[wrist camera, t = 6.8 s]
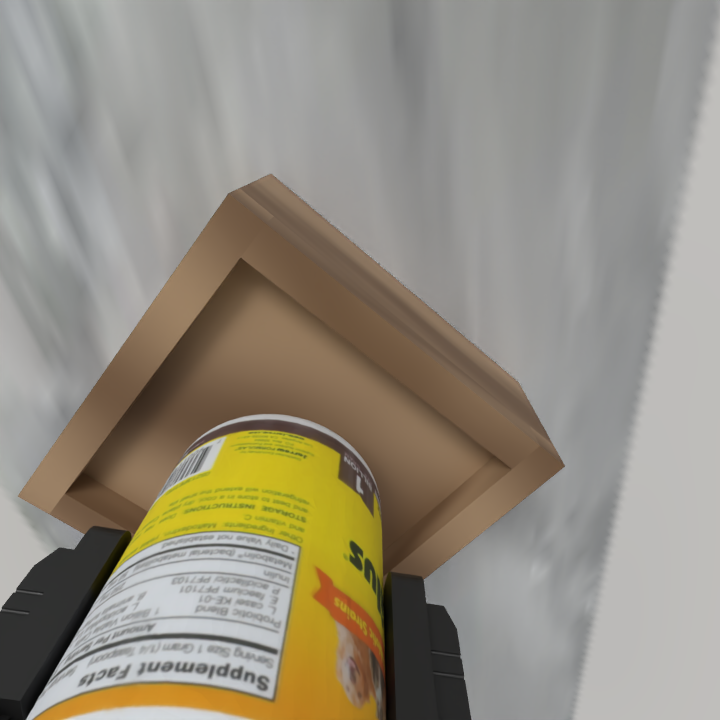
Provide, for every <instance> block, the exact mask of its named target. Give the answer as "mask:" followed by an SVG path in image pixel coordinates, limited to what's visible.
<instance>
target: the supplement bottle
mask: <svg viewBox="0 0 720 720" xmlns="http://www.w3.org/2000/svg"><path fill="white" fill-rule="evenodd" d="M383 597H384V596H383V557H382V519H381V505H380V497H379V492H378V488H377V485H376V482H375V479H374V477H373V475H372V473H371V471H370V469H369V467H368V466H367V464H366V462H365V461H364V460H363V458H362V457H361V456H360V454H359V453H358V452H357V451H356V450H355V449H354V448H353V447H352V446H351V445H350V444H349V443H348V442H347V441H345V440H344V439H343V438H342V437H340V436H339V435H337V434H336V433H334V432H333V431H331V430H329V429H327V428H326V427H324V426H321V425H319V424H317V423H314V422H311V421H309V420H305V419H302V418H298V417H293V416H288V415H280V414H258V415H251V416H244V417H240V418H237V419H233V420H230V421H227V422H225V423H223V424H220V425H218V426H216V427H215V428H213V429H211V430H209V431H208V432H206V433H205V434H203V435H202V436H201V437H200V438H198V439H197V440H196V441H195V442H194V443H193V444H192V445H191V446H190V447H189V448H188V449H187V450H186V452H185V453H184V454H183V456H182V457H181V459H180V460H179V462H178V463H177V465H176V466H175V468H174V469H173V471H172V473H171V475H170V477H169V478H168V480H167V481H166V483H165V485H164V486H163V488H162V489H161V491H160V492H159V494H158V496H157V498H156V500H155V501H154V503H153V505H152V506H151V508H150V510H149V511H148V513H147V515H146V517H145V518H144V520H143V521H142V523H141V525H140V526H139V528H138V530H137V531H136V533H135V535H134V537H133V538H132V540H131V542H130V543H129V545H128V547H127V548H126V550H125V552H124V554H123V556H122V557H121V559H120V561H119V562H118V564H117V565H116V567H115V569H114V570H113V572H112V574H111V576H110V577H109V579H108V581H107V582H106V584H105V586H104V588H103V589H102V591H101V593H100V595H99V596H98V598H97V599H96V601H95V603H94V604H93V606H92V608H91V610H90V611H89V613H88V615H87V617H86V618H85V620H84V622H83V624H82V625H81V627H80V629H79V630H78V632H77V634H76V635H75V637H74V639H73V640H72V642H71V644H70V646H69V647H68V649H67V651H66V652H65V654H64V656H63V657H62V659H61V661H60V662H59V664H58V666H57V668H56V669H55V671H54V673H53V674H52V676H51V678H50V679H49V681H48V683H47V684H46V686H45V688H44V690H43V692H42V693H41V695H40V696H39V698H38V700H37V701H36V703H35V705H34V707H33V709H32V710H31V712H30V714H29V715H28V717H27V719H26V720H386V683H385V639H384V607H383Z"/></svg>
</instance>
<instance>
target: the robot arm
mask: <svg viewBox="0 0 720 720" xmlns="http://www.w3.org/2000/svg"><path fill="white" fill-rule="evenodd" d="M131 540H132V536H131V532H130V531H127V530H120V529H113V528H107V527H100V526H92V527H91V528H90V529H89V530H88V531H87V532H86V534H85V535H84V537H83V538H82V539H81V541H80V542H79V544H78V545H77V547H76V548H75V549H74V550H72V549H66V548H58V549H57V550H55V551H54V552H53V553H51V554H50V555H48V556H47V557H46V558H44V559H43V560H41V561H40V562H39V563H37V564H36V565H34V567H33V568H32V569H31V570H30V572H29V573H28V574H27V576H26V577H25V578H24V579H23V581H22V582H21V583H20V585H19V586H18V587H17V590H16V592H15V593H13V594H12V595H11V596H10V598H9V599H8V600H7V601H6V603H5V604H4V605H3V607H2V610H1V612H0V720H26V719H27V717H28V715H29V714H30V712H31V710H32V709H33V707H34V705H35V703H36V701H37V700H38V698H39V696H40V695H41V693H42V692H43V690H44V688H45V686H46V684H47V683H48V681H49V679H50V678H51V676H52V674H53V673H54V671H55V669H56V668H57V666H58V664H59V662H60V661H61V659H62V657H63V656H64V654H65V652H66V651H67V649H68V647H69V646H70V644H71V642H72V640H73V639H74V637H75V635H76V634H77V632H78V630H79V629H80V627H81V625H82V624H83V622H84V620H85V618H86V617H87V615H88V613H89V611H90V610H91V608H92V606H93V604H94V603H95V601H96V599H97V598H98V596H99V595H100V593H101V591H102V589H103V588H104V586H105V584H106V582H107V581H108V579H109V577H110V576H111V574H112V572H113V570H114V569H115V567H116V565H117V564H118V562H119V561H120V559H121V557H122V556H123V554H124V552H125V550H126V548H127V547H128V545H129V543H130V542H131ZM383 596H384V597H383V607H384V639H385V683H386V720H471V715H470V709H469V703H468V696H467V690H466V684H465V680H464V671H463V665H462V659H460V655H461V653H460V647H459V640H458V634H457V629H456V627H455V625H454V623H453V621H452V620H451V618H450V616H449V614H448V613H447V611H446V609H445V607H444V606H440V605H434V604H427V603H426V598H425V589H424V581H423V578H422V576H417V575H410V574H404V573H397V572H390V571H389V572H388V574H387V577H386V581H385V585H384V588H383Z"/></svg>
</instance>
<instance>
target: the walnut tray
mask: <svg viewBox="0 0 720 720" xmlns="http://www.w3.org/2000/svg"><path fill="white" fill-rule="evenodd" d="M258 414H280V415H288V416H293V417H298V418H302V419H305V420H309V421H311V422H314V423H317V424H319V425H321V426H324V427H326V428H327V429H329V430H331V431H333V432H334V433H336V434H337V435H339V436H340V437H342V438H343V439H344V440H345V441H347V442H348V443H349V444H350V445H351V446H352V447H353V448H354V449H355V450H356V451H357V452H358V453H359V454H360V456H361V457H362V458H363V460H364V461H365V462H366V464H367V466H368V467H369V469H370V471H371V473H372V475H373V477H374V479H375V482H376V485H377V488H378V492H379V497H380V505H381V519H382V557H383V588H384V585H385V581H386V577H387V574H388V572H389V571H390V572H397V573H404V574H410V575H417V576H422V578H423V580H424V579H425V578H426V577H427V576H429V575H430V574H431V573H432V572H434V571H435V570H436V569H437V568H439V567H440V566H441V565H442V564H444V563H445V562H446V561H447V560H449V559H450V558H451V557H452V556H454V555H455V554H456V553H457V552H459V551H460V550H461V549H462V548H464V547H465V546H466V545H467V544H469V543H470V542H471V541H472V540H474V539H475V538H476V537H477V536H479V535H480V534H481V533H482V532H484V531H485V530H486V529H487V528H489V527H490V526H491V525H492V524H494V523H495V522H496V521H497V520H499V519H500V518H501V517H502V516H504V515H505V514H506V513H507V512H509V511H510V510H511V509H512V508H514V507H515V506H516V505H517V504H519V503H520V502H521V501H522V500H524V499H525V498H526V497H527V496H529V495H530V494H531V493H532V492H534V491H535V490H536V489H537V488H539V487H540V486H541V485H542V484H544V483H545V482H546V481H547V480H549V479H550V478H551V477H552V476H554V475H555V474H556V473H557V472H559V471H560V470H561V469H562V468H564V467H565V465H564V464H563V462H562V460H561V458H560V456H559V455H558V453H557V451H556V449H555V447H554V446H553V444H552V442H551V440H550V438H549V437H548V435H547V433H546V431H545V429H544V427H543V426H542V424H541V422H540V420H539V418H538V417H537V415H536V413H535V411H534V409H533V408H532V406H531V404H530V402H529V400H528V399H527V397H526V395H525V393H524V391H523V390H522V388H521V386H520V384H519V382H517V381H516V380H515V379H514V378H513V377H511V376H510V375H509V374H508V373H507V372H506V371H504V370H503V369H502V368H501V367H500V366H498V365H497V364H496V363H495V362H494V361H492V360H491V359H490V358H489V357H488V356H487V355H485V354H484V353H483V352H482V351H481V350H479V349H478V348H477V347H476V346H475V345H474V344H472V343H471V342H470V341H469V340H468V339H466V338H465V337H464V336H463V335H462V334H460V333H459V332H458V331H457V330H456V329H455V328H453V327H452V326H451V325H450V324H449V323H447V322H446V321H445V320H444V319H443V318H442V317H440V316H439V315H438V314H437V313H436V312H434V311H433V310H432V309H431V308H430V307H428V306H427V305H426V304H425V303H424V302H423V301H421V300H420V299H419V298H418V297H417V296H415V295H414V294H413V293H412V292H411V291H409V290H408V289H407V288H406V287H405V286H404V285H402V284H401V283H400V282H399V281H398V280H396V279H395V278H394V277H393V276H392V275H391V274H389V273H388V272H387V271H386V270H385V269H383V268H382V267H381V266H380V265H379V264H377V263H376V262H375V261H374V260H373V259H372V258H370V257H369V256H368V255H367V254H366V253H364V252H363V251H362V250H361V249H360V248H359V247H357V246H356V245H355V244H354V243H353V242H351V241H350V240H349V239H348V238H347V237H345V236H344V235H343V234H342V233H341V232H340V231H338V230H337V229H336V228H335V227H334V226H332V225H331V224H330V223H329V222H328V221H327V220H325V219H324V218H323V217H322V216H321V215H319V214H318V213H317V212H316V211H315V210H313V209H312V208H311V207H310V206H309V205H308V204H306V203H305V202H304V201H303V200H302V199H300V198H299V197H298V196H297V195H296V194H294V193H293V192H292V191H291V190H290V189H289V188H287V187H286V186H285V185H284V184H283V183H281V182H280V181H279V180H278V179H277V178H276V177H274V176H273V175H272V174H269V175H267V176H265V177H263V178H261V179H259V180H256V181H254V182H252V183H250V184H248V185H246V186H244V187H241V188H239V189H237V190H235V191H233V192H231V193H229V194H228V195H227V197H226V198H225V199H224V201H223V202H222V204H221V205H220V207H219V208H218V209H217V211H216V212H215V214H214V215H213V217H212V218H211V219H210V221H209V222H208V224H207V225H206V227H205V228H204V230H203V231H202V232H201V234H200V235H199V237H198V238H197V240H196V241H195V242H194V244H193V245H192V247H191V248H190V250H189V251H188V253H187V254H186V255H185V257H184V258H183V260H182V261H181V263H180V264H179V265H178V267H177V268H176V270H175V271H174V273H173V274H172V275H171V277H170V278H169V280H168V281H167V283H166V284H165V286H164V287H163V288H162V290H161V291H160V293H159V294H158V296H157V297H156V298H155V300H154V301H153V303H152V304H151V306H150V307H149V308H148V310H147V311H146V313H145V314H144V316H143V317H142V319H141V320H140V321H139V323H138V324H137V326H136V327H135V329H134V330H133V331H132V333H131V334H130V336H129V337H128V339H127V340H126V341H125V343H124V344H123V346H122V347H121V349H120V350H119V352H118V353H117V354H116V356H115V357H114V359H113V360H112V362H111V363H110V364H109V366H108V367H107V369H106V370H105V372H104V373H103V375H102V376H101V377H100V379H99V380H98V382H97V383H96V385H95V386H94V387H93V389H92V390H91V392H90V393H89V395H88V396H87V397H86V399H85V400H84V402H83V403H82V405H81V406H80V408H79V409H78V410H77V412H76V413H75V415H74V416H73V418H72V419H71V420H70V422H69V423H68V425H67V426H66V428H65V429H64V430H63V432H62V433H61V435H60V436H59V438H58V439H57V441H56V442H55V443H54V445H53V446H52V448H51V449H50V451H49V452H48V453H47V455H46V456H45V458H44V459H43V461H42V462H41V463H40V465H39V466H38V468H37V469H36V471H35V472H34V474H33V475H32V476H31V478H30V479H29V481H28V482H27V484H26V485H25V486H24V488H23V489H22V491H21V492H20V494H19V495H18V497H20V498H22V499H23V500H25V501H27V502H29V503H31V504H32V505H34V506H36V507H38V508H39V509H41V510H43V511H45V512H46V513H48V514H50V515H52V516H53V517H55V518H57V519H59V520H61V521H62V522H64V523H66V524H68V525H69V526H71V527H73V528H75V529H76V530H78V531H80V532H82V533H83V534H86V532H87V531H88V530H89V529H90V528H91V527H92V526H100V527H107V528H113V529H120V530H127V531H130V532H131V536H132V538H133V537H134V535H135V533H136V531H137V530H138V528H139V526H140V525H141V523H142V521H143V520H144V518H145V517H146V515H147V513H148V511H149V510H150V508H151V506H152V505H153V503H154V501H155V500H156V498H157V496H158V494H159V492H160V491H161V489H162V488H163V486H164V485H165V483H166V481H167V480H168V478H169V477H170V475H171V473H172V471H173V469H174V468H175V466H176V465H177V463H178V462H179V460H180V459H181V457H182V456H183V454H184V453H185V452H186V450H187V449H188V448H189V447H190V446H191V445H192V444H193V443H194V442H195V441H196V440H197V439H198V438H200V437H201V436H202V435H203V434H205V433H206V432H208V431H209V430H211V429H213V428H215V427H216V426H218V425H220V424H223V423H225V422H227V421H230V420H233V419H237V418H240V417H244V416H251V415H258Z"/></svg>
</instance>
